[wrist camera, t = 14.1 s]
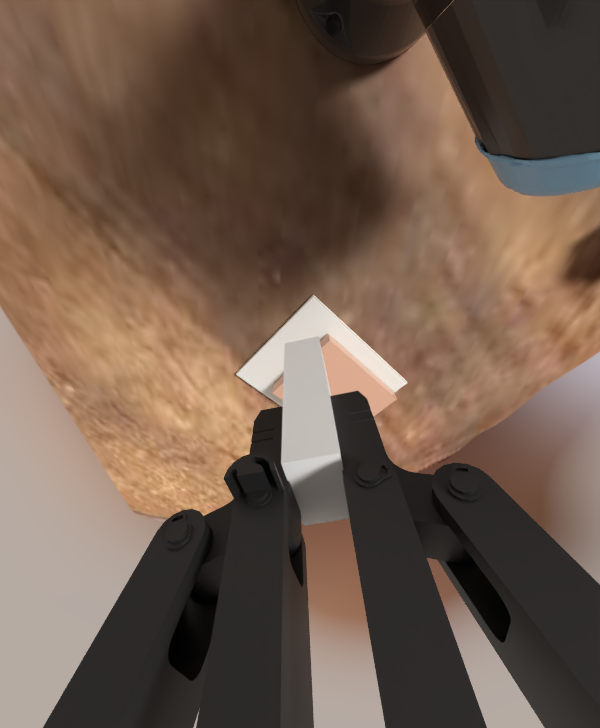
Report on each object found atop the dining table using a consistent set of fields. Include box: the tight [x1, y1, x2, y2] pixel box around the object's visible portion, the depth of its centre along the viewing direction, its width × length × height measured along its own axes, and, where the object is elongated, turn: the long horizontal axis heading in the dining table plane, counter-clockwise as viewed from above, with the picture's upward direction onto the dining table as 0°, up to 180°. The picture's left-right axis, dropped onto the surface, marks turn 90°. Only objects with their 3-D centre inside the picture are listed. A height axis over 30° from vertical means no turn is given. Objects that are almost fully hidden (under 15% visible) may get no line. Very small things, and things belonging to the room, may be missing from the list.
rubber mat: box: [236, 295, 407, 407], centre depth 49 cm, size 21×17×1 cm
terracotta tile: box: [272, 334, 397, 416], centre depth 49 cm, size 12×2×15 cm
